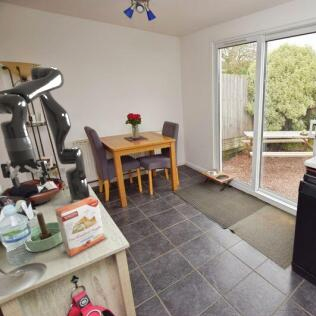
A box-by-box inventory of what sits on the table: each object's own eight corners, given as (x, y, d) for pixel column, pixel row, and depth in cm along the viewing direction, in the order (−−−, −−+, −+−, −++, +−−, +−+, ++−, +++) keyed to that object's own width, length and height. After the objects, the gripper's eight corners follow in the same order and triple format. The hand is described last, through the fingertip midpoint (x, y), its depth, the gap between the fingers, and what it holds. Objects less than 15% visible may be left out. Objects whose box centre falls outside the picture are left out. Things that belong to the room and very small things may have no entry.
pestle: (43, 238, 101) (35, 211, 96) (54, 236, 102) (47, 210, 97) (39, 244, 97) (31, 217, 93) (50, 242, 98) (42, 215, 94)
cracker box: (71, 257, 92) (60, 214, 85) (64, 251, 95) (53, 209, 88) (105, 239, 103) (98, 199, 96) (98, 234, 106) (91, 195, 99)
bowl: (35, 234, 104) (32, 224, 102) (71, 229, 108) (69, 219, 107) (18, 255, 91) (14, 245, 89) (59, 249, 96) (56, 238, 94)
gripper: (46, 144, 91) (55, 180, 96) (2, 145, 87) (14, 183, 92) (37, 149, 84) (47, 187, 90) (-11, 151, 80) (3, 191, 85)
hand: (30, 185), depth 91 cm, fingers open, 8 cm apart
